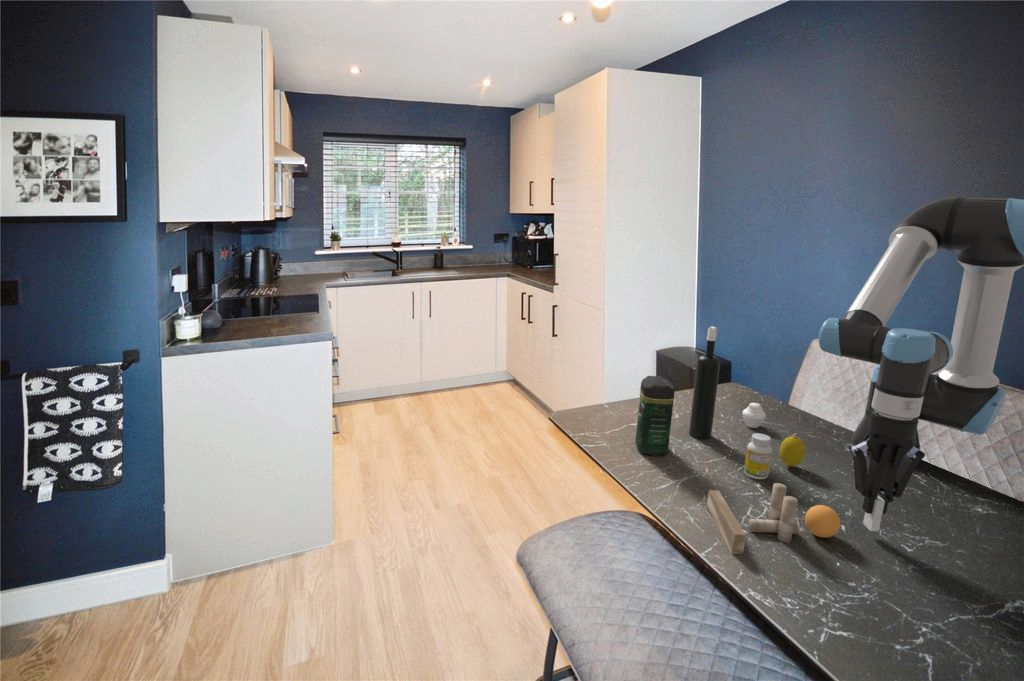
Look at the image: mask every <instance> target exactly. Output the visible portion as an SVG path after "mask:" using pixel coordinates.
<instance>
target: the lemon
mask: <svg viewBox="0 0 1024 681" xmlns="http://www.w3.org/2000/svg"><path fill="white" fill-rule="evenodd" d="M779 456H780V459H781V461H782V462H783V463H784V464H786V465H787V466H788V467H793V466H798V465H799V464H801V463H802V462H803V461H804V459H805V456H806V446H805V443H804V441H803V440H802V439H800V438H799V437H798V436H797V435H793V436H788V437H786V438H784V440H783V441H782V442H781V445H780V447H779Z"/></svg>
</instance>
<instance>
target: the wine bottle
mask: <svg viewBox="0 0 1024 681" xmlns="http://www.w3.org/2000/svg"><path fill="white" fill-rule="evenodd" d="M717 333H718V327H716V326H712V325H711V326H709V327H708V329H707V336H706V348H705V349H706V350H705V354H703V355H700V356H699V357H698V358H697V361H696V368H695V377H694V385H693V393H692V395H693V396H692V403H691V409H690V410H691V412H690V419H689V427H688V434H689V436H690V437H693V438H695V439H699V440H708V439H710V438H712V433H713V424H714V418H715V417H714V414H715V408H716V407H715V406H716V399H717V391H718V385H719V384H718V383H719V375H720V370H721V361H720V359H719V358H718V357H717V356H715V355H714V354H715V345H716V340H717V335H718V334H717Z"/></svg>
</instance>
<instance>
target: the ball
mask: <svg viewBox="0 0 1024 681" xmlns="http://www.w3.org/2000/svg"><path fill="white" fill-rule="evenodd" d="M804 521H805V522H804V523H805V525H806V527H807V529H808V531H810V533H812V535H814V536H816V537H819V538H822V539H823V538H831V537H834V536H836V534H837V533H838V532H839V530H840V527H841V520H840V516H839V514H838V513H837V512H836V511H835V510H834V509H833V508H832V507H830V506H827V505H823V504H816V505H813V506H812V507H810V508H809V509H808V510H807V511H806V514H805V517H804Z"/></svg>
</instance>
